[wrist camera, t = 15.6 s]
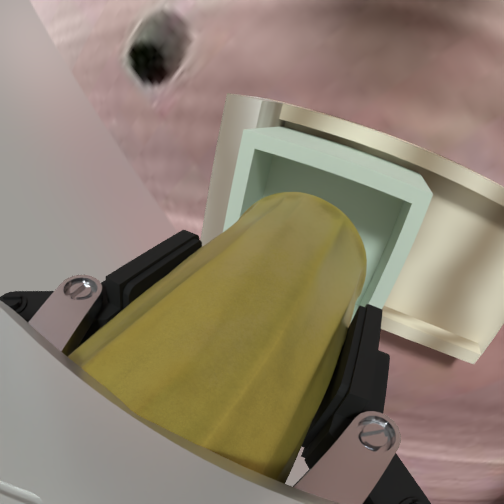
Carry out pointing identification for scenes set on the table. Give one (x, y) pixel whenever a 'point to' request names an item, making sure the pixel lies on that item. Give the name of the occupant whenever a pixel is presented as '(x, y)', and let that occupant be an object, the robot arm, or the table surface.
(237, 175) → the box
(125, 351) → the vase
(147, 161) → the table surface
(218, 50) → the table surface
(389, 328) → the cream rectangular tray
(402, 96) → the table surface
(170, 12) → the table surface
